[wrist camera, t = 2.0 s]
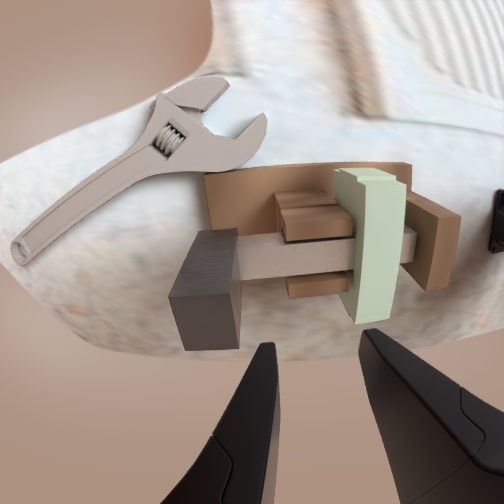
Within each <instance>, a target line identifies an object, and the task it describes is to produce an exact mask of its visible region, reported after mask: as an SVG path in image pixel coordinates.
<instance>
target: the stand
mask: <svg viewBox="0 0 504 504" xmlns="http://www.w3.org/2000/svg"><path fill="white" fill-rule="evenodd" d="M339 168H376V169H378V170H381V171H384V172H386V173H389V174H392V175H394V176H396V181H399V182H401V183H403V184H406V185H407V186H406V205H405V219H404V224H405V225H406V226H408V227H409V228H411V229H412V230H413V231H415V232H416V233H417V237H416V245H415V252H414V258H413V262H407V263H399V264H400V265H401V266H402V267H403V268H404V269H405V270H406V271H407V272H408V273H409V274H410V275H411V276H412V278H413V279H414V280H415V281H416V282H417V283H418V284H419V285H420V286H421V287H422V288H423V290H424V291H425V292H427V291H432V290H437V289H442V288H447V287H448V283H449V279H450V275H451V270H452V266H453V262H454V257H455V252H456V247H457V241H458V235H459V229H460V222H461V216H459V215H457V214H456V213H454V212H452V211H450V210H448V209H446V208H444V207H442V206H440V205H439V204H437V203H435V202H433V201H431V200H429V199H427V198H425V197H423V196H420V195H418V194H416V193H414V192H412V191H411V184H412V165H410V164H407V163H402V162H333V163H308V164H290V165H276V166H264V167H253V168H243V169H233V170H227V171H222V172H208V173H206V174H205V175H204V182H205V189H206V196H207V203H208V209H209V216H210V223H211V229H212V230H217V229H227V228H237V227H238V236H247V235H258V234H269V233H280V232H284V234H285V238H286V241H293V240H305V239H316V238H327V237H339V236H351V235H352V230H353V218H352V217H351V216H350V215H349V214H348V213H346V212H345V211H344V210H343V209H342V208H341V207H340V206H339V205H338V203H337V202H336V201H335V192H334V169H339ZM284 278H285V282H286V287H287V291H288V296H289V299H293V298H303V297H312V296H320V295H329V294H337V293H345V292H349V281H350V278H349V276H348V274H347V273H346V271H345V270H341V271H332V272H323V273H313V274H304V275H294V276H284Z"/></svg>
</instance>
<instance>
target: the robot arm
mask: <svg viewBox="0 0 504 504" xmlns="http://www.w3.org/2000/svg"><path fill="white" fill-rule="evenodd" d="M488 250H489V252H490V253H498V252H504V189H499V190H498V193H497V200H496V208H495V215H494V221H493V227H492V233H491V238H490V243H489V248H488ZM358 354H359V359H360V364H361V368H362V372H363V376H364V380H365V385H366V390H367V394H368V398H369V402H370V405H371V408H372V411H373V414H374V416H375V420H376V423H377V425H378V429H379V432H380V435H381V437H382V441H383V444H384V447H385V450H386V453H387V457H388V460H389V464H390V467H391V471H392V474H393V478H394V481H395V485H396V488H397V492H398V496H399V500H400V503H401V504H504V412H502V411H500V410H498V409H497V408H495V407H493V406H491V405H490V404H488V403H486V402H484V401H483V400H481V399H480V398H478V397H476V396H475V395H473V394H472V393H470V392H469V391H468V390H466V389H465V388H463V387H460V385H459V384H457V383H456V382H454V381H453V380H451V379H450V378H449V377H447V376H446V375H444V374H443V373H441V372H440V371H438V370H437V369H435V368H434V367H433V366H431V365H429V364H428V363H427V362H425V361H424V360H422V359H421V358H420V357H418V356H417V355H415V354H414V353H412V352H411V351H409V350H408V349H406V348H405V347H403V346H402V345H401V344H399V343H398V342H396V341H395V340H393V339H392V338H390V337H389V336H387V335H386V334H384V333H383V332H381V331H380V330H378V329H377V328H371V329H365V330H363V332H362V334H361V339H360V345H359V350H358ZM279 395H280V394H279V376H278V364H277V355H276V347H275V343H274V342H267V343H261V344H260V345H259V347H258V349H257V351H256V353H255V355H254V356H253V358H252V360H251V362H250V364H249V366H248V368H247V370H246V372H245V374H244V376H243V378H242V380H241V382H240V384H239V386H238V387H237V389H236V391H235V393H234V395H233V397H232V399H231V400H230V402H229V404H228V406H227V408H226V410H225V411H224V413H223V415H222V417H221V419H220V420H219V422H218V424H217V426H216V428H215V429H214V431H213V433H212V435H213V436H210V438H209V440H208V441H207V443H206V445H205V447H204V448H203V450H202V451H201V453H200V454H199V456H198V458H197V459H196V461H195V462H194V464H193V465H192V466H191V468H190V469H189V470H188V471H187V473H186V474H185V475H184V477H183V478H182V479H181V480H180V481H179V483H178V484H177V485H176V486H175V487H174V488H173V490H172V491H171V492H170V493H169V494H168V495H167V496H166V498H165V499H164V500H163V501H162V502H161V503H160V504H274V495H275V484H276V473H277V459H278V446H279V432H280V396H279Z"/></svg>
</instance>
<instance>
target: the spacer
mask: <svg viewBox="0 0 504 504" xmlns="http://www.w3.org/2000/svg"><path fill="white" fill-rule="evenodd" d="M406 186H407V185H406V184H403V183H401V182H399V181H396V176H394V175H392V174H389V173H386V172H384V171H381V170H378V169H376V168H339V169H334V192H335V201H336V202H337V203H338V205H339V206H340V207H341V208H342V209H343V210H344V211H345V212H346V213H348V214H349V215H350V216H351V217H352V218H353V226H354V227H355V228H356V245H355V261H354V269H350V270H345V271H346V273H347V274H348V276H349V278H350V281H349V292H345V293H338V294H339V296H340V298H341V300H342V302H343V304H344V306H345V308H346V311H347V313H348V315H349V316H351V317H352V319H353V322H354V324H355V325H356V324H362V323H368V322H374V321H379V320H385V319H389V317H390V313H391V308H392V303H393V298H394V293H395V287H396V281H397V275H398V269H399V262H400V255H401V248H402V239H403V230H404V219H405V205H406Z"/></svg>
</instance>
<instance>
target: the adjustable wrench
mask: <svg viewBox="0 0 504 504" xmlns="http://www.w3.org/2000/svg"><path fill="white" fill-rule="evenodd" d="M229 87H230V85H229V83H228V82H227V81H226V80H225V79H224V78H221V77H207V78H200V79H195V80H192V81H189V82H186V83H184V84H182V85H180V86H178V87H176V88H174V89H173V90H171V91H170V92H168V93H167V94H164V93H161V92H158V94H157V96H156V100H155V101H154V102H153V103H152V104H151V106H150V108H151V109H152V110H153V111H154V112H153V115H152V117H151V119H150V121H149V123H148V125H147V127H146V129H145V131H144V133H143V134H142V135H141V137H140V138H139V140H138V141H137V142H136V143H135V144H134V145H133V146H132V147H131V148H130V149H128V150H127V151H126V152H125V153H123V154H122V155H120V156H119V157H117V158H116V159H114V160H113V161H111V162H110V163H108V164H107V165H105V166H104V167H102V168H101V169H99V170H98V171H96V172H95V173H93V174H92V175H91V176H89V177H88V178H86V179H85V180H84V181H82V182H81V183H80V184H78V185H77V186H76V187H74V188H73V189H72V190H70V191H69V192H68V193H67V194H65V195H64V196H63V197H61V198H60V199H59V200H58V201H57V202H55V203H54V204H53V205H52V206H50V207H49V208H48V209H47V210H46V211H45V212H43V213H42V214H41V215H40V216H39V217H38V218H36V219H35V220H34V221H33V222H32V223H31V224H30V225H29V226H28V227H27V228H25V229H24V230H23V231H22V232H21V233H20V234H19V235H18V236H17V237H16V238H15V239H14V240H13V241H12V243H11V253H12V256H13V258H14V259H15V261H16V262H17V263H18V264H20V265H25V264H26V263H28V262H29V261H30V260H31V259H33V258H34V257H35V256H36V255H37V254H39V253H40V252H41V251H42V250H43V249H44V248H46V247H47V246H48V245H49V244H51V243H52V242H53V241H54V240H56V239H57V238H58V237H59V236H61V235H62V234H63V233H64V232H66V231H67V230H68V229H70V228H71V227H72V226H74V225H75V224H76V223H78V222H79V221H80V220H82V219H83V218H84V217H86V216H87V215H89V214H90V213H91V212H93V211H94V210H96V209H97V208H98V207H100V206H101V205H103V204H104V203H106V202H107V201H109V200H110V199H112V198H113V197H115V196H116V195H118V194H119V193H121V192H122V191H124V190H125V189H127V188H129V187H130V186H132V185H133V184H135V183H137V182H138V181H140V180H141V179H143V178H145V177H148V176H152V175H156V174H161V173H169V172H180V171H203V172H222V171H227V170H231V169H234V168H237V167H239V166H241V165H243V164H244V163H245V162H246V161H248V160H249V159H250V158H251V157H253V156H254V154H255V153H256V152H257V150H258V149H259V148H260V146H261V144H262V141H263V139H264V137H265V135H266V128H267V118H266V116H265V115H264V113H262V114H261V115H260V116H259V117H258V118H257V119H256V120H255V121H254V122H253V123H252V124H251V125H250V126H249V127H248V128H247V129H246V130H245V131H244V132H243V133H242V134H241V135H240V136H239V137H238V138H237V139H234V138H229V137H224V136H219V135H214V134H213V133H212V132H211V131H209V130H208V129H207V128H206V127H205V126H204V124H203V122H202V118H201V110H204V111H206V110H207V109H208V108H209V107H210V106H211V105H212V104H213V103H214V102H215V101H216V100H217V99H218V98H219V97H220V96H221V95H222V94H223V93H224V92H225V91H226V90H227V89H228V88H229ZM172 127H173V128H174V130H173V129H172ZM176 131H178V132H179V133H178V134H177V133H176ZM180 135H182V136H183V137H181V136H180ZM155 144H156V146H157V147H156V146H155ZM159 146H161V147H160V149H161V150H162V151H163V150H165V149H166V150H165V153H164V152H162V151H161V150H160V149H159V148H158V147H159ZM170 152H171V153H172V155H171V156H170V157H168V156H167V155H166V154H169V153H170ZM19 243H20V244H21V245H22V247H23V248H24V250H25V253H26V256H25V255H24V254H23V253H22V252H21V249H20V246H19Z"/></svg>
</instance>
